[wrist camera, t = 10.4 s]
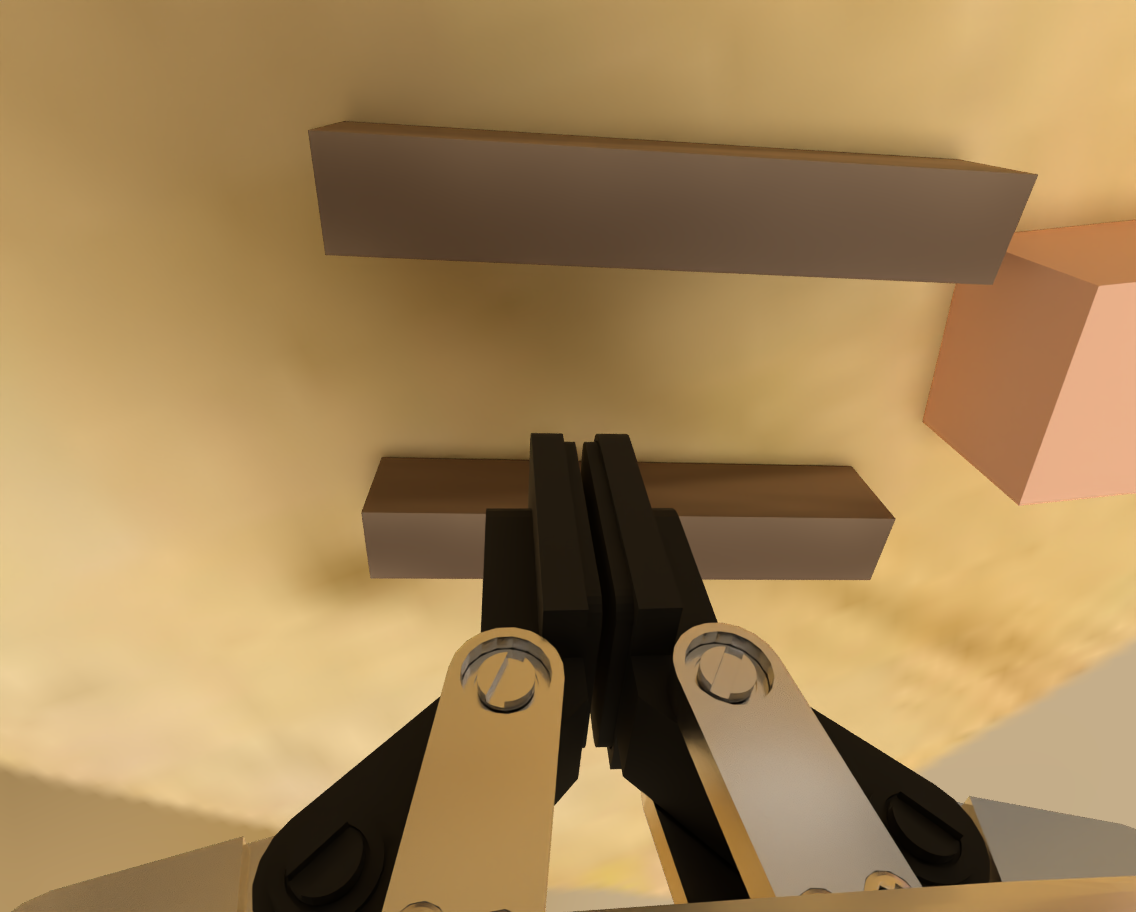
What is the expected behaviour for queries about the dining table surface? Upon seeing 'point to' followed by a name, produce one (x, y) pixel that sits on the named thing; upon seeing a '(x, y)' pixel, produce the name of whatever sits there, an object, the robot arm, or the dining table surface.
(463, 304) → the dining table surface
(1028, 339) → the block
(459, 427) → the dining table surface
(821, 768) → the robot arm
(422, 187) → the chute
